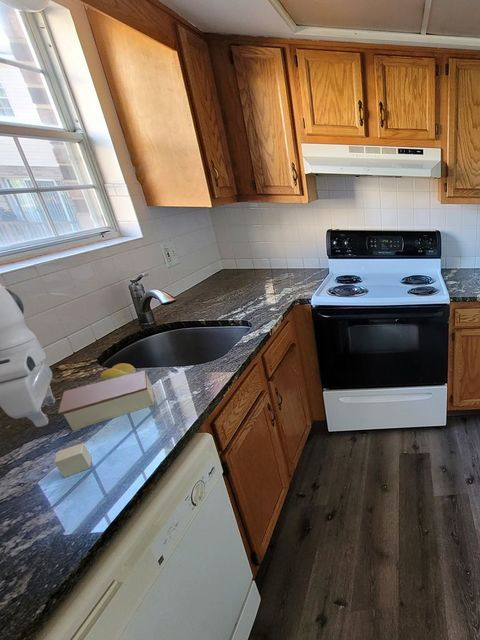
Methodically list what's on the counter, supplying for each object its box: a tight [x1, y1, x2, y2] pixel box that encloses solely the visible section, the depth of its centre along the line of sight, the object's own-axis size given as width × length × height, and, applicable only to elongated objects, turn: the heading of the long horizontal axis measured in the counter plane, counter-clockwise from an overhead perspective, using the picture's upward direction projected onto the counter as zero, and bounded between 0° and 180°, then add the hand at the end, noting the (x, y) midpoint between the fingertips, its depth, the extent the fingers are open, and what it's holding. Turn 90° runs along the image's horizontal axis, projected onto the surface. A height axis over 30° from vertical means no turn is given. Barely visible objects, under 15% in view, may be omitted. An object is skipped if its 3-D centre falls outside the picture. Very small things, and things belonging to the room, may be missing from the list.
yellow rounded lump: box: [99, 362, 137, 382], centre depth 121 cm, size 8×9×4 cm
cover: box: [57, 369, 147, 416], centre depth 104 cm, size 18×14×1 cm
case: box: [63, 373, 155, 432], centre depth 105 cm, size 18×14×5 cm
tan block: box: [54, 442, 93, 478], centre depth 83 cm, size 4×4×4 cm
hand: (47, 413), depth 78 cm, fingers open, 8 cm apart
